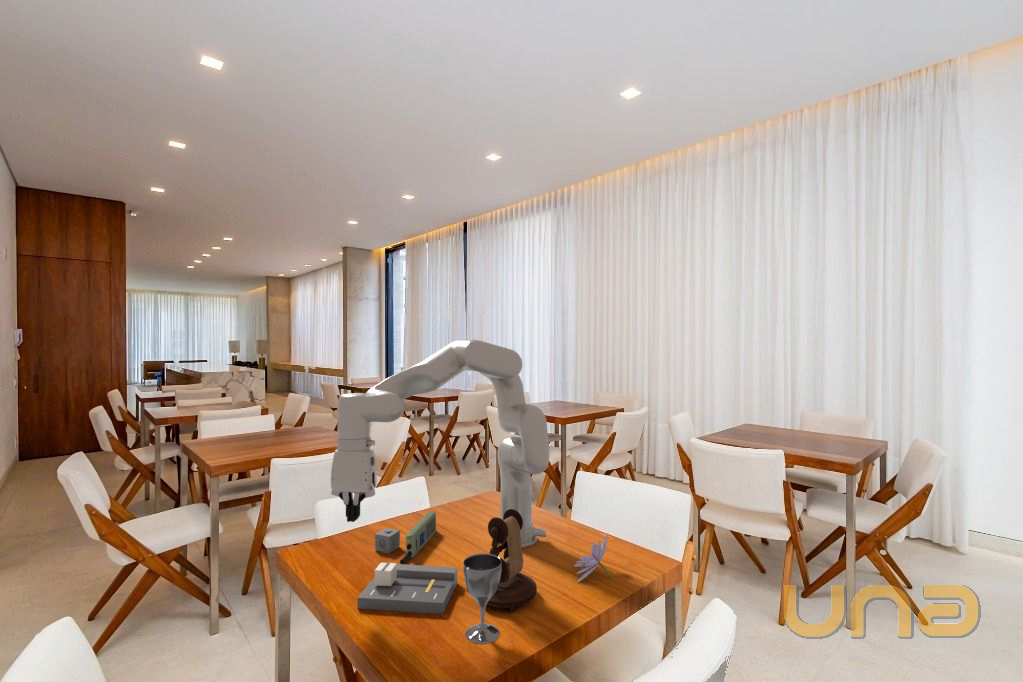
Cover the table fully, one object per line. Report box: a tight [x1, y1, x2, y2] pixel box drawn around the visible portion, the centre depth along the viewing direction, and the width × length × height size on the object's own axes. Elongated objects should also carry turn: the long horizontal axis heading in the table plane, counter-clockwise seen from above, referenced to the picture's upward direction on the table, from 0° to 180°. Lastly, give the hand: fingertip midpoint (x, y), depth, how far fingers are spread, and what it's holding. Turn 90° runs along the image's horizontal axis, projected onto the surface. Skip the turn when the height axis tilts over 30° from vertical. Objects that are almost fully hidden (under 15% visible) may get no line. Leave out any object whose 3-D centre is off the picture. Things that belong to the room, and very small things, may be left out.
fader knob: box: [374, 561, 398, 586], centre depth 118 cm, size 4×4×4 cm
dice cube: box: [374, 527, 401, 554], centre depth 143 cm, size 5×5×5 cm
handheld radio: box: [399, 510, 437, 565], centre depth 144 cm, size 7×3×25 cm
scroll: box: [486, 509, 538, 613], centre depth 116 cm, size 15×15×20 cm
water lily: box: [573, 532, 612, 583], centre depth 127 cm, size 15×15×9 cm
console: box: [357, 563, 458, 615], centre depth 117 cm, size 20×14×4 cm
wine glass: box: [462, 552, 501, 645], centre depth 102 cm, size 8×8×15 cm
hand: (352, 519), depth 118 cm, fingers closed
